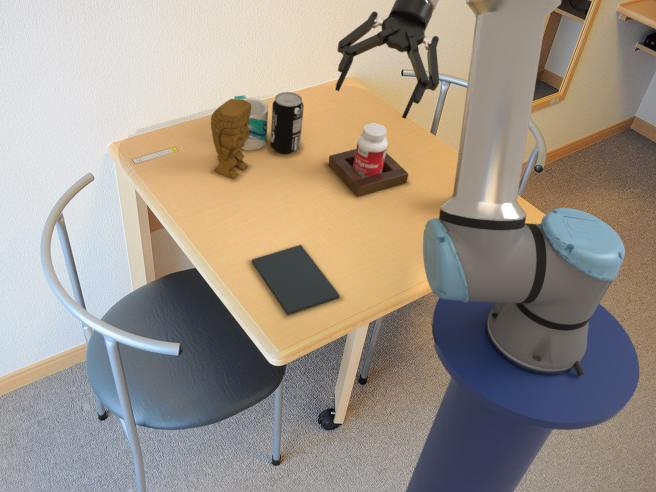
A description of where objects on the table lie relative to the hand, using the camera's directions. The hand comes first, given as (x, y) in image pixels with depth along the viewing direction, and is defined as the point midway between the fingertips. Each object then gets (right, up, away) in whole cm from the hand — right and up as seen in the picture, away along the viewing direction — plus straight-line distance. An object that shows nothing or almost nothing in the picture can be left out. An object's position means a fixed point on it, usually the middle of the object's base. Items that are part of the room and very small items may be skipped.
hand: (371, 101), depth 123 cm
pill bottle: (+2, -11, +16) cm, 20 cm away
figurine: (-27, -10, +16) cm, 33 cm away
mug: (-24, -1, +26) cm, 35 cm away
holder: (+2, -11, +16) cm, 20 cm away
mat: (-15, -33, -7) cm, 37 cm away
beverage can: (-15, -5, +23) cm, 28 cm away
